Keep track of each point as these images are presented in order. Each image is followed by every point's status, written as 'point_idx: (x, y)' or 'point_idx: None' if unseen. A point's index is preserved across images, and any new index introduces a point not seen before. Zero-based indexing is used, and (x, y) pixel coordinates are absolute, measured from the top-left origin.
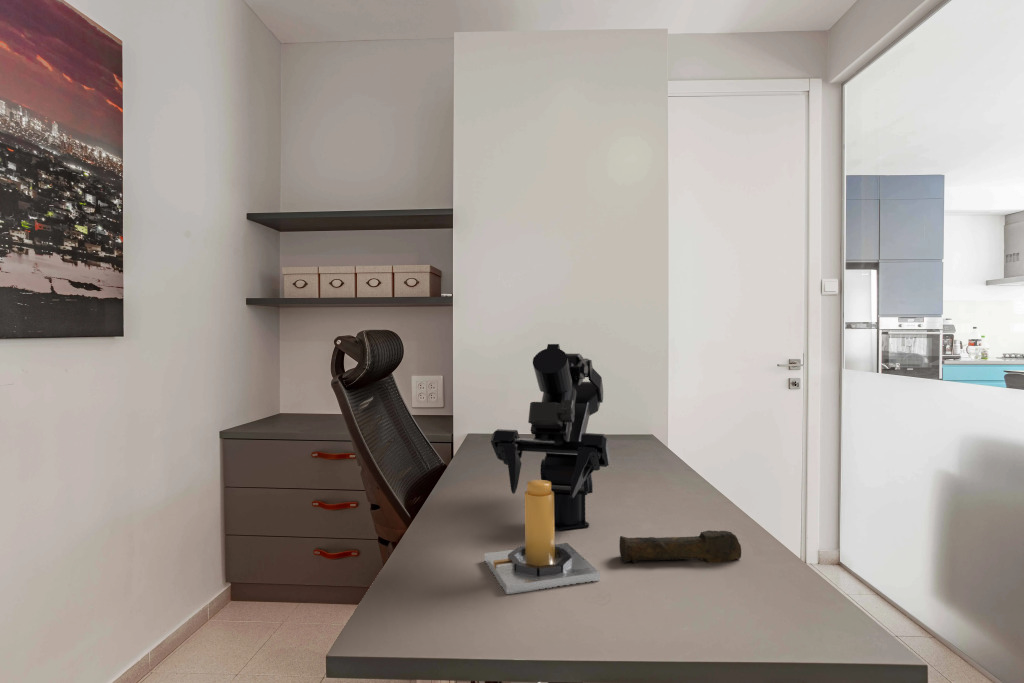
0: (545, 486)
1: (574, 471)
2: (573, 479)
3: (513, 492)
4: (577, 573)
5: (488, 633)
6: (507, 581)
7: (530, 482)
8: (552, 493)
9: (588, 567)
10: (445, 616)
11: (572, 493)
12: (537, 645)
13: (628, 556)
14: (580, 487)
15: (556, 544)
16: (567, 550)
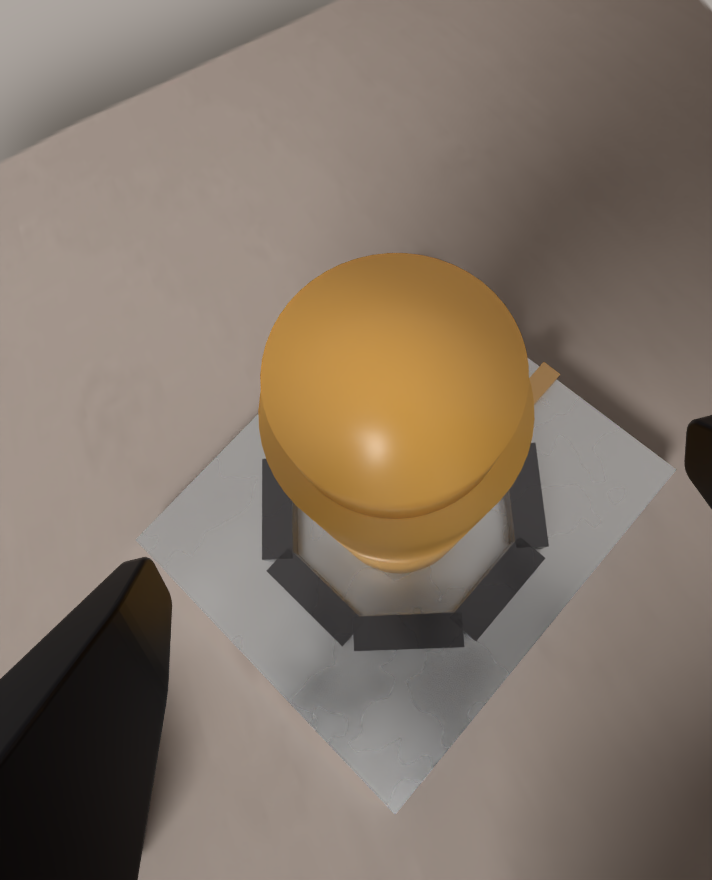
0: (284, 314)
1: (7, 744)
2: (63, 653)
3: (689, 444)
4: (213, 483)
5: (328, 93)
6: None
7: (487, 341)
8: (275, 445)
9: (190, 560)
10: (485, 97)
11: (120, 565)
12: (191, 112)
13: None
14: None
15: (435, 761)
16: (348, 706)
